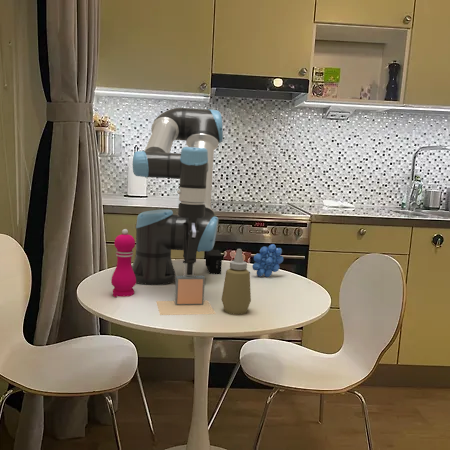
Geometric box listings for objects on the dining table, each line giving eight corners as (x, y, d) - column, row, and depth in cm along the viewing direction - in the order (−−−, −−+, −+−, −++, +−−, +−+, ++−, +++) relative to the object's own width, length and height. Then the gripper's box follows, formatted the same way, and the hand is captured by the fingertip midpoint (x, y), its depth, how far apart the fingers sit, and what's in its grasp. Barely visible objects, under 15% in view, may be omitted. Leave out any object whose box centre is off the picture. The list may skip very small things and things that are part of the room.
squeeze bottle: (228, 318, 137) (231, 252, 134) (216, 309, 144) (219, 246, 141) (255, 316, 140) (259, 251, 137) (242, 307, 147) (246, 245, 145)
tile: (174, 303, 146) (175, 275, 145) (202, 302, 148) (203, 275, 146) (175, 305, 144) (176, 277, 142) (203, 305, 145) (204, 277, 144)
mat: (156, 303, 147) (156, 301, 147) (207, 302, 150) (207, 300, 150) (160, 317, 135) (160, 314, 135) (215, 316, 138) (215, 313, 138)
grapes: (277, 273, 190) (279, 241, 188) (284, 278, 183) (287, 245, 182) (247, 274, 186) (249, 241, 184) (254, 279, 180) (256, 245, 178)
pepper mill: (114, 299, 148) (116, 231, 145) (108, 293, 154) (109, 227, 151) (138, 297, 151) (141, 230, 148) (131, 291, 157) (133, 226, 154)
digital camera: (203, 267, 194) (204, 249, 192) (218, 267, 194) (219, 249, 193) (205, 274, 183) (206, 255, 182) (221, 274, 184) (222, 255, 183)
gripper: (175, 200, 149) (172, 279, 152) (181, 204, 137) (178, 290, 140) (201, 200, 151) (197, 279, 154) (209, 205, 138) (205, 290, 142)
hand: (188, 284), depth 147 cm, fingers closed
